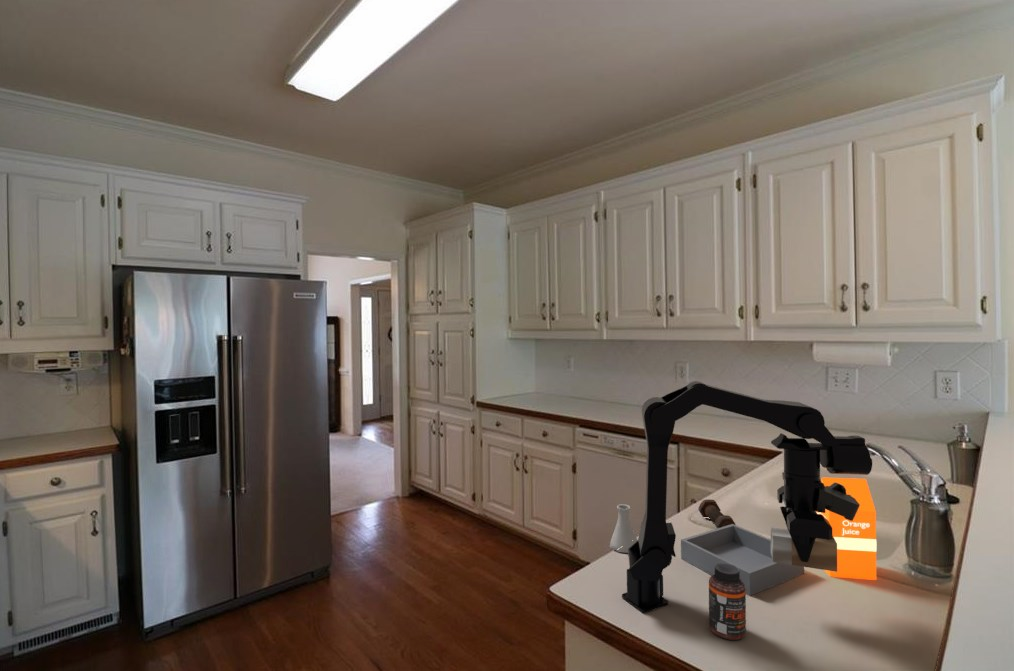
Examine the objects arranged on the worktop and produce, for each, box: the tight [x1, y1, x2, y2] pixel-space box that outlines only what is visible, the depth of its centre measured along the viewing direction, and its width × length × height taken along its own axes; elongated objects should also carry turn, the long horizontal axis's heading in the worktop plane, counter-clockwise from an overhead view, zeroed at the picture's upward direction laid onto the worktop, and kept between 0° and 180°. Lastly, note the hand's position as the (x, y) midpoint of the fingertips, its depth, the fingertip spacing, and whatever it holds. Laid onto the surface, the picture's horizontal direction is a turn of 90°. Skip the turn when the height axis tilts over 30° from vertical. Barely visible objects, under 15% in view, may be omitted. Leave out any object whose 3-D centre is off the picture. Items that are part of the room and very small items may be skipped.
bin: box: [680, 524, 805, 597], centre depth 108 cm, size 18×18×4 cm
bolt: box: [697, 499, 736, 529], centre depth 129 cm, size 6×5×15 cm
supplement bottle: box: [708, 563, 747, 641], centre depth 86 cm, size 6×6×11 cm
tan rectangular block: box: [770, 526, 837, 572], centre depth 90 cm, size 4×10×5 cm, turn 67°
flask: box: [608, 503, 638, 554], centre depth 119 cm, size 7×7×10 cm
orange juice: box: [816, 476, 877, 581], centre depth 106 cm, size 8×9×20 cm
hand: (802, 556), depth 90 cm, fingers closed on tan rectangular block, 4 cm apart
